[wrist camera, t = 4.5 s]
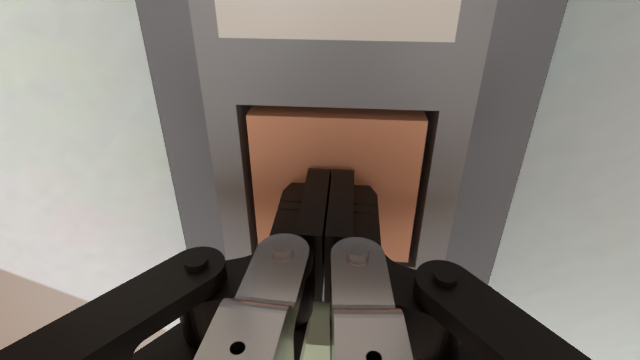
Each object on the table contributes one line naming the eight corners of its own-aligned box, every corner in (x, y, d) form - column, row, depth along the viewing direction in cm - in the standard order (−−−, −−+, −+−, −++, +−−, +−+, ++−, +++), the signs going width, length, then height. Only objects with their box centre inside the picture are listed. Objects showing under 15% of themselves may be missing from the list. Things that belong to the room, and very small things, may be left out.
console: (605, -246, 12) (782, -377, 7) (462, 317, 24) (490, 419, 19) (118, -232, 13) (-35, -339, 8) (213, 301, 25) (176, 394, 20)
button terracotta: (416, 89, 15) (428, 121, 12) (400, 214, 17) (408, 262, 15) (265, 84, 15) (245, 115, 12) (273, 208, 18) (258, 253, 15)
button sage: (398, 289, 17) (404, 351, 15) (387, 370, 20) (391, 435, 17) (269, 281, 18) (254, 340, 15) (276, 362, 20) (264, 424, 18)
